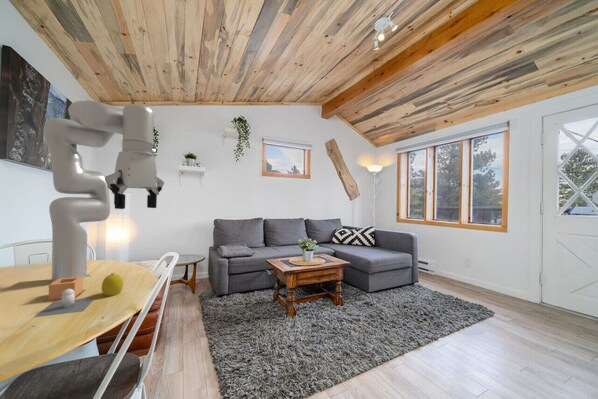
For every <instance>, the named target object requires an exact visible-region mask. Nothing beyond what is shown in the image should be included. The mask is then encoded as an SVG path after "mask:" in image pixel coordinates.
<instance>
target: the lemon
mask: <svg viewBox="0 0 598 399" xmlns="http://www.w3.org/2000/svg"><path fill="white" fill-rule="evenodd" d="M123 288H124V280H123V277H122V276H121V275H120V274H117V273H114V272H113V273H112V272H111V274H109V275H106V277H104V279H103V280H102V284H101V293H102V295H104V296H105V297H112V296H117V295H119V294H120V293H121V292H122V291H123Z"/></svg>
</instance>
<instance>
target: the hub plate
mask: <svg viewBox="0 0 598 399" xmlns="http://www.w3.org/2000/svg"><path fill="white" fill-rule="evenodd" d="M74 293H75V292H74V290H73V289H66V290H65V291H63V293H62V300H56V301H52V302H51V304H49V305H48V306H46V307H45V308H44V309H42V310H41V311H40V312H38V313H37V314H35V315H34V316H33V318H38V317H39V318H41V317H47V316H54V315H55V316H56V315H62V314H71V313H79V312H84V311H85V310H86V309H87V308H88V307H89V306H90V305H91V304H92V302H94V301H95V299H97V296H96V297H87V298H78V299H77V298H74Z"/></svg>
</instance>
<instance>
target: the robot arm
mask: <svg viewBox="0 0 598 399" xmlns="http://www.w3.org/2000/svg"><path fill="white" fill-rule="evenodd" d="M67 111H68V112H67V113H68V115H69V117H70V118H71V119H67V118H61V117H58V118H57V117H53V118H48V119H47V120H46V121H45V123H44V125H43V139H44V141H45V145H46V147H47V149H48V151H49V154H50V157H51V165H52V168H51V169H52V182H53V187H54V189H55V191H56V192H58V193H60V194H65V195H66V194H67V195H89V196H90V197H84V196H79V197H78V196H72V197H71V196H66V197H59V198H55V199H54V200H52V201H51V202H50V204H49V206H48V207H49V208H48V209H49V212H48V213H49V217H50V220H51V228H52V230H51V231H52V238H51V240H52V244H51V245H52V247H51V248H52V250H51V283H53V282H54V281H56V280H58V279H61V278H74V277H83V280H84V279H85V278H87V277H92V275H90V274H87V268H88V265H87V264H88V263H87V262H88V258H87V257H88V234H87V231H86V230H85V228H84V227H83V226H81V225H80V223H81V224H82V223H95V222H103V221H105V220H107V219H108V218H109V216H110V214H111V204H110V202H111V201H110V191H111V194H113V197H114V198H113V200H114V201H113V205H114V209H115V210H125V209H126V194H124V193H125V192H126V190H127V189H145V190H146V192H147V196H146V202H147V203H146V207H147V208H148V209H156V208H157V206H158V205H157V203H158V202H157V197H158V195H160V192H161V191H163V187H164V185H165V181H163V180H162V179H161V178H159V177H158V174H157V164H156V159H155V158H156V157H155V156H154V154H155V153H156V149H155V148H154V128H155V127H154V126H155V125H154V121H155V120H154V117H155V116H154V115H155V114H154V111H153V110H152V109H151V108H150V107H147V106H145V105H141V104H135V103H130V104H129V103H128V104H126V105H124V107H123V108H120V107H117V106H115V105H111V104H108V103H104V102H99V101H96V100H89V99H87V100H77V101H73V102H72V103H71V104H70V105H69V106H68V109H67ZM115 134H118V135H122V142H121V143H122V144H121V151H119V152H118V155H117V157H116V160H115V161H116V162H115V167H114V173H111V174H107V175H105V174H104V173H103V172H100V171H97V170H90V169H89V170H85V169H84V165H83V158H82V157H83V156H82V155H81V154H80V153H79V152H78V150H77V149H75V148H74V147H73V145H79V146H83V147H90V148H95V149H98V148H103V147H104V146H106V145H107V144H108V143H109V141H110V140H111V139H112V138H113V136H114V135H115ZM71 144H72V145H71Z"/></svg>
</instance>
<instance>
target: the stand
mask: <svg viewBox="0 0 598 399" xmlns="http://www.w3.org/2000/svg"><path fill="white" fill-rule="evenodd" d="M84 292H86V289H83V291H81V292H80V293H79V294H78V295H77V296H76V297H74V299H77V298H78V297H80V296H81V295H82V294H83V293H84ZM56 301H62V299H55V300H49V297H48V298H46V299H44V301H43V303H44V302H45V303H46V302H56Z"/></svg>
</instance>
